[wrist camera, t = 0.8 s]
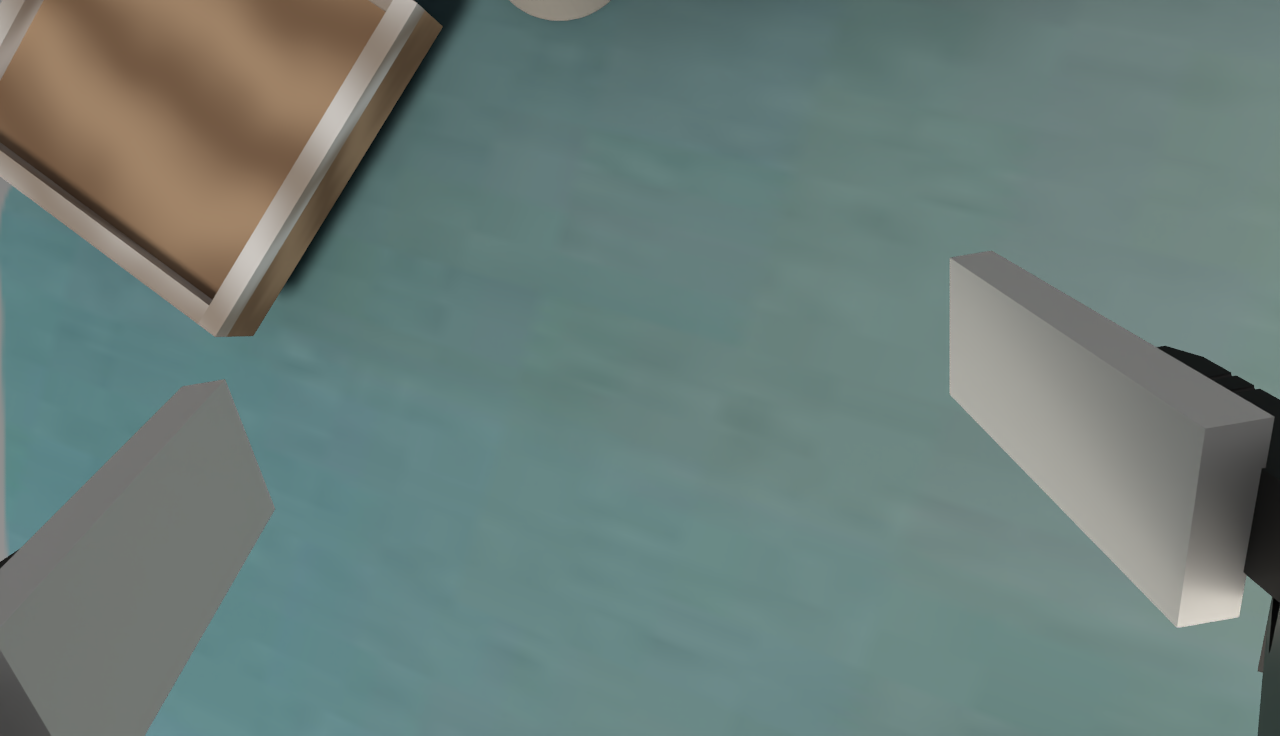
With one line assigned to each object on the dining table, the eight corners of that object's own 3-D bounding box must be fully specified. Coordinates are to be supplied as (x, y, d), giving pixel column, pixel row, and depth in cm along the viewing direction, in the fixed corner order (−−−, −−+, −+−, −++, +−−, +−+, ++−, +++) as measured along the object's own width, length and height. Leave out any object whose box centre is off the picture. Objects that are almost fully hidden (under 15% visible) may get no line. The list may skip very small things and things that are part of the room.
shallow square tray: (199, -134, 43) (111, -205, 37) (466, 47, 41) (417, 3, 35) (41, 152, 45) (-66, 127, 39) (288, 335, 43) (215, 336, 38)
